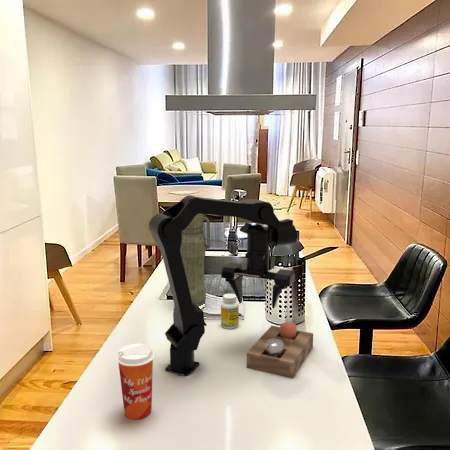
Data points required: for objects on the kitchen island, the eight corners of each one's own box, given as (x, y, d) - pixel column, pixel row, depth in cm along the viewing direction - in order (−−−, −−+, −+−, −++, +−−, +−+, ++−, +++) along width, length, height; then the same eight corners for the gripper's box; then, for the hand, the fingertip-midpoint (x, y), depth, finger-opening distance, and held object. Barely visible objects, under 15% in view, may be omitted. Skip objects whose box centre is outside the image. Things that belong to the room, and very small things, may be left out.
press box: (292, 378, 113) (293, 363, 112) (246, 367, 118) (246, 352, 118) (312, 347, 129) (313, 333, 128) (271, 338, 134) (271, 325, 133)
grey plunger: (279, 359, 115) (280, 347, 115) (262, 356, 117) (263, 344, 117) (285, 352, 119) (285, 340, 119) (269, 348, 121) (269, 337, 120)
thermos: (175, 301, 162) (172, 201, 155) (209, 300, 163) (208, 200, 156) (174, 311, 154) (172, 205, 146) (210, 310, 155) (210, 205, 147)
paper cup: (123, 426, 95) (120, 363, 92) (116, 406, 102) (113, 346, 99) (161, 417, 98) (159, 355, 95) (151, 398, 105) (149, 339, 102)
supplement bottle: (229, 320, 147) (229, 291, 145) (242, 325, 143) (242, 295, 141) (217, 325, 143) (217, 295, 141) (229, 331, 139) (229, 300, 137)
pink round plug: (293, 341, 125) (293, 330, 124) (277, 338, 127) (277, 327, 126) (298, 335, 129) (298, 324, 128) (282, 332, 131) (283, 321, 130)
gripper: (301, 244, 126) (299, 300, 129) (236, 238, 133) (235, 290, 136) (290, 255, 115) (288, 315, 119) (220, 247, 123) (220, 304, 126)
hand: (256, 305), depth 125 cm, fingers open, 9 cm apart
